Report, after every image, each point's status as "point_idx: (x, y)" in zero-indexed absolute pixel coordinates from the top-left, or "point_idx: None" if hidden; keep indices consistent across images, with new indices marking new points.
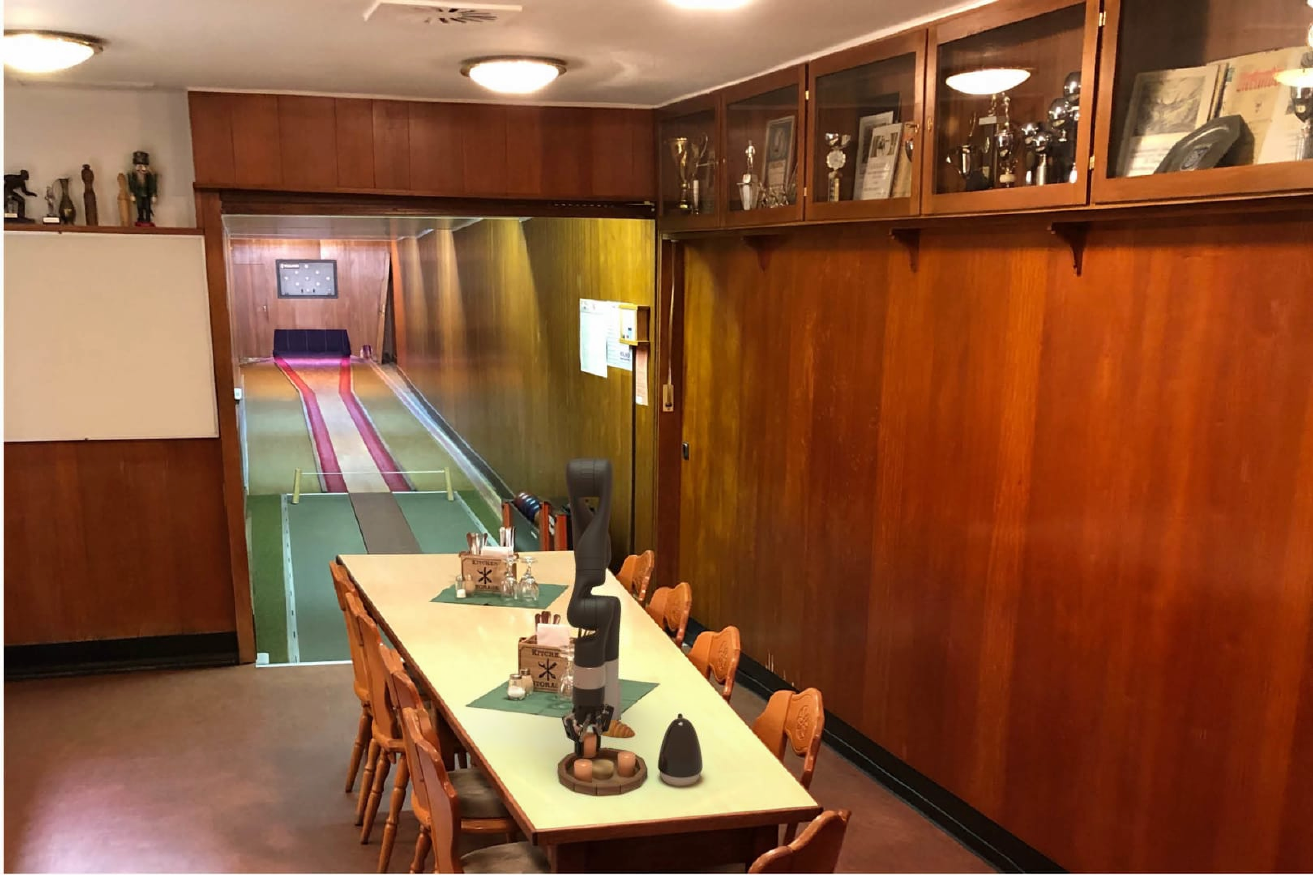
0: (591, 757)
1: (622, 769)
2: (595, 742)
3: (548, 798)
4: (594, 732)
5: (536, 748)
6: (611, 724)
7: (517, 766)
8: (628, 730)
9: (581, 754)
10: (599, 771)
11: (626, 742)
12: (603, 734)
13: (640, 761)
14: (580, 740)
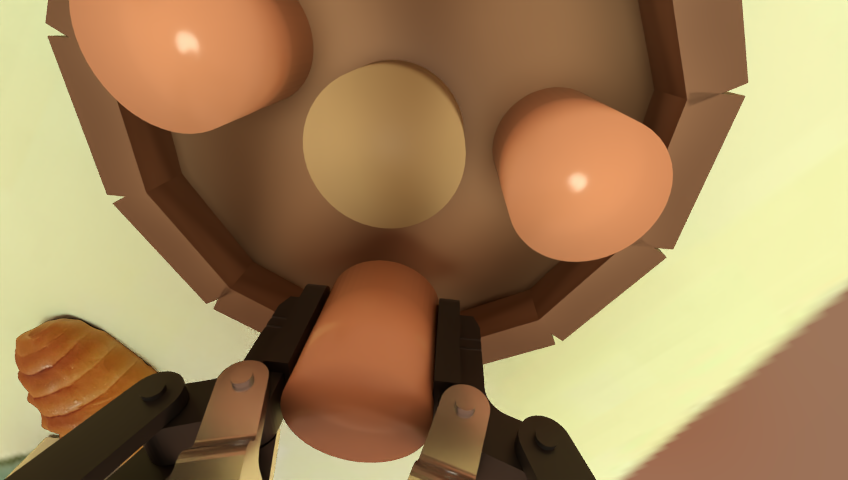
0: None
1: (284, 13)
2: (333, 328)
3: (795, 159)
4: (276, 418)
5: None
6: None
7: (580, 432)
8: (34, 364)
9: (458, 308)
10: (454, 108)
11: (91, 319)
12: None
13: None
14: (477, 401)
